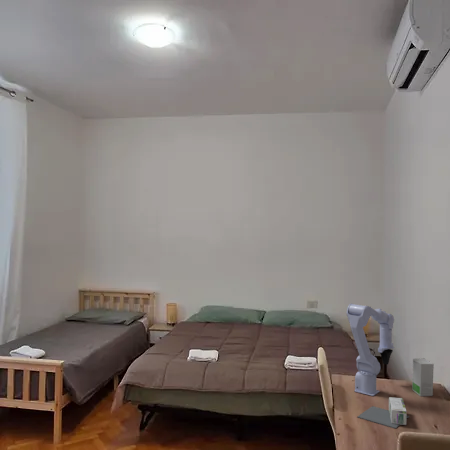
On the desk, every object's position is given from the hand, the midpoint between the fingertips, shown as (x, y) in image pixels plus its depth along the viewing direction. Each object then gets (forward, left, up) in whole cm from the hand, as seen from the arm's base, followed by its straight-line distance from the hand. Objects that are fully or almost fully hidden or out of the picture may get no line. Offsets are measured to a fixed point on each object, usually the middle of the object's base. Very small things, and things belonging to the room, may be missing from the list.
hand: (385, 363), depth 229 cm
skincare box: (+18, 0, -11) cm, 21 cm away
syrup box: (+16, -30, -7) cm, 35 cm away
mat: (+15, -40, -10) cm, 44 cm away
